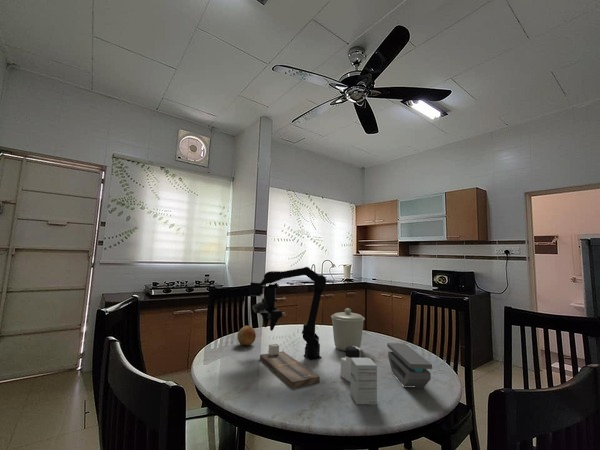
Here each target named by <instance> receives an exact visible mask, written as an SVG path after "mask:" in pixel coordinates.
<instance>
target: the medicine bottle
mask: <svg viewBox="0 0 600 450" xmlns="http://www.w3.org/2000/svg"><path fill="white" fill-rule="evenodd" d="M360 348H361V347H360ZM360 348H358V347H356V346H348V347H346V348H345V351H344V352H345V354H344V355H345V356H344V357H341V358H340V377H342V379H344V380H345V381H347V382H349V383H350V382H351V358H361V349H360Z"/></svg>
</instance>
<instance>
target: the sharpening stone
mask: <svg viewBox="0 0 600 450" xmlns="http://www.w3.org/2000/svg"><path fill="white" fill-rule="evenodd" d="M386 347H387V348H388V349H389V350H390V351H387V352H388V353H387V357H388V361H389V365H390V369H391V372H393V374H394V375H395V376H396V377H397V378H398V380H399V381H400V382H401V383H402V384H403V385H404V386H415V387H414V388H416V387H424V388H425V387H426V386H427V384H428V383H429V382H430V381H431V380H432V377H431V376H432V375H431V372H430V371H429V370H432V369H433V364H432V363H431V362H429V361H428V360H426V359H425V358H424V357H423V356H422V355H421V354H419V353H418V352H417V351H415V350H414V349H412V347H410V346H408V344H406V343H400V342H398V343H397V342H387V345H386ZM393 374H392V375H393ZM398 380H397V381H398ZM399 381H398V382H399Z"/></svg>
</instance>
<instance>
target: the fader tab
mask: <svg viewBox="0 0 600 450" xmlns="http://www.w3.org/2000/svg"><path fill="white" fill-rule="evenodd" d="M279 352H280V345H279V344H278V343H270V344H268V351H267V354H270V355H277V354H279Z"/></svg>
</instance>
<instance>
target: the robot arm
mask: <svg viewBox="0 0 600 450" xmlns="http://www.w3.org/2000/svg"><path fill="white" fill-rule="evenodd" d="M301 276H306V277H307V278H309V280H311V281H313V283H314V284H313V297H312V301H311V307H310V309H309V315H308V320H307V322H303V326H302V327H303V329H302V331H301V334H302V339H303V340H304V341H305V342H306V343H305V347H304V354H303V357H305V358H306V359H308V360H309V361H310V360H311V361H312V360H318V359H322V356H320V354H321V353H320V352H321V349H320V348H321V344H320V337H319V336H318V334H317V333H316V321H317V316H318V311H319V306H320V301H321V297H322V294H323V292H324V289H325V286H326V285H327V278H326V277H325V276H324V274H318V273H317V272H316V271H314V270H312V269H311V268H310V267H309V266H304V267H300V268H295V269H294V268H293V269H290V270H282V271H280V270H279V271H277V270H275V271H273V270H271V271H268V272H265V274H264V275H263V279H262V281H260V282H253V281H252V282H250V284H249V289H248V295H249V297H250V296H251V297H261V296H262V295H263V297H262V298H261V302H257V303H255V304H253V305H252V306H251V307H252V310H253V313H255V314H260V316H261V317H262V321H263V327H264V328H267V327H268V324H269V330H270V331H271V332H273V330H274V329H275V326H276V325H277V323H278V321H279V319H281V318H283V317H284V315H283V311H282V310H279V309H277V307H276V302H278V299H277V298H276V293H277V292H276V291H277V289H279V288H280V285H279V284H278V283H277V282H278V281H281V280H285V279H289V278H294V277H301ZM273 283H274V284H273Z"/></svg>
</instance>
